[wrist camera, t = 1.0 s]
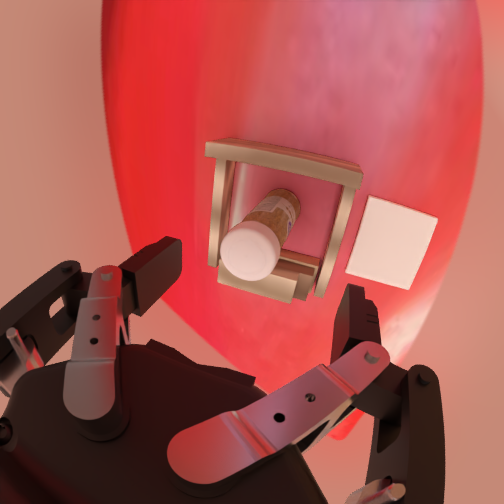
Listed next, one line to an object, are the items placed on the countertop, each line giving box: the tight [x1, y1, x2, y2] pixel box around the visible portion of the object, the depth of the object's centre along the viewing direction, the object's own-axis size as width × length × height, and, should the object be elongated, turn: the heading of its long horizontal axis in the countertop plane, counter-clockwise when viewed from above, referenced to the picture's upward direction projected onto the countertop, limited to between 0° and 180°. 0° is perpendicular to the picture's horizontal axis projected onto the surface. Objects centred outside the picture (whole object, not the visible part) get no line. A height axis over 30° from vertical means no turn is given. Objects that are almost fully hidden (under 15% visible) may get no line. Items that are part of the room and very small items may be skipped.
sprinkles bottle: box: [220, 189, 301, 281], centre depth 27 cm, size 5×5×13 cm
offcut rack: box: [205, 138, 363, 304], centre depth 31 cm, size 16×15×6 cm
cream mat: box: [345, 195, 438, 290], centre depth 30 cm, size 10×9×1 cm
